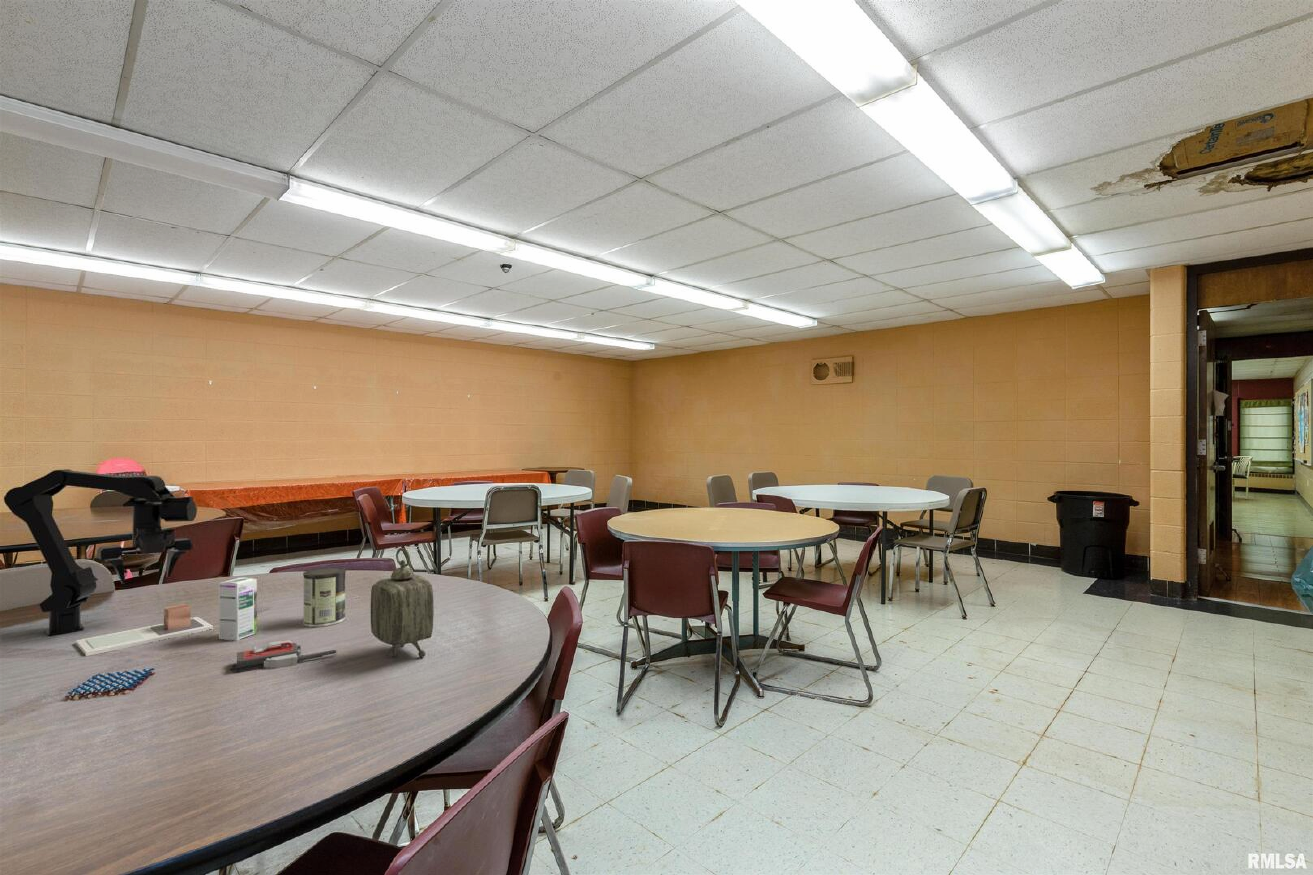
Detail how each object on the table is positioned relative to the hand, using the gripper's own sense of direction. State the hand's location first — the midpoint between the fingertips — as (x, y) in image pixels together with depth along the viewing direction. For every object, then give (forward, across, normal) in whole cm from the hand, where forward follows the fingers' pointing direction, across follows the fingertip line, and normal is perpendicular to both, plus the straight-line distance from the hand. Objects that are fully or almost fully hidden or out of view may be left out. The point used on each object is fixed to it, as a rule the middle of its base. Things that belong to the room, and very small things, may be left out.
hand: (146, 580), depth 154 cm
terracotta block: (+11, +4, -12) cm, 17 cm away
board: (+12, -2, -12) cm, 17 cm away
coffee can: (+12, +31, -34) cm, 48 cm away
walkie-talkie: (+13, +13, -57) cm, 60 cm away
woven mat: (+13, -14, -45) cm, 49 cm away
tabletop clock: (+12, +31, -74) cm, 81 cm away
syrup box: (+12, +12, -30) cm, 35 cm away
